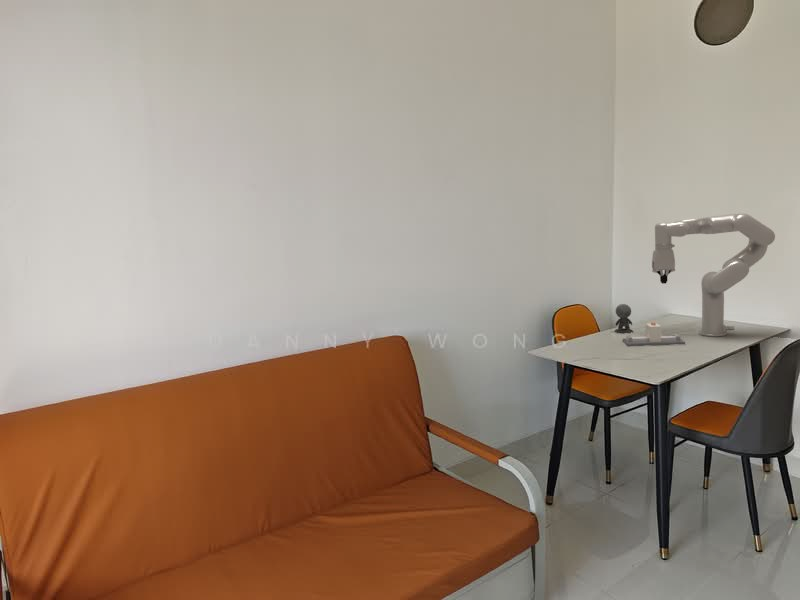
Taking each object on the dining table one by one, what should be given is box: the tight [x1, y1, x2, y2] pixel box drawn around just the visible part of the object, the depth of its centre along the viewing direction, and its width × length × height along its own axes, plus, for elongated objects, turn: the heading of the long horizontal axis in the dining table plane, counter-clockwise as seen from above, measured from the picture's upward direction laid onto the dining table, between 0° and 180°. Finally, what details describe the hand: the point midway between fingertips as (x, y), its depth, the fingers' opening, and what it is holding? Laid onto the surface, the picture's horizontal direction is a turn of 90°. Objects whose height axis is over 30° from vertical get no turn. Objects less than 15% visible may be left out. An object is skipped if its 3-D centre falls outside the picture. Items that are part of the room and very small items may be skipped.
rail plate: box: [622, 333, 686, 347], centre depth 270 cm, size 26×11×3 cm, turn 80°
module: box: [645, 321, 662, 342], centre depth 270 cm, size 5×8×9 cm, turn 170°
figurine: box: [614, 303, 634, 334], centre depth 297 cm, size 9×10×15 cm
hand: (663, 283), depth 282 cm, fingers closed
